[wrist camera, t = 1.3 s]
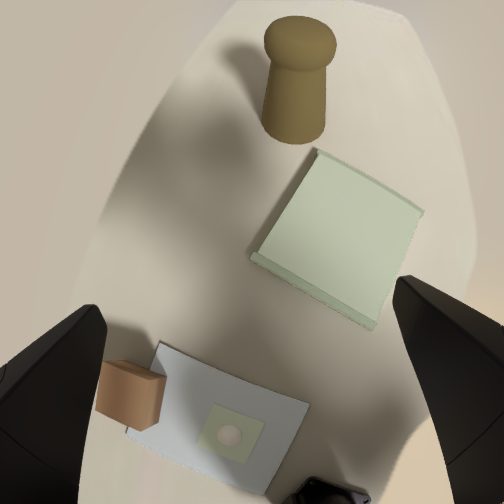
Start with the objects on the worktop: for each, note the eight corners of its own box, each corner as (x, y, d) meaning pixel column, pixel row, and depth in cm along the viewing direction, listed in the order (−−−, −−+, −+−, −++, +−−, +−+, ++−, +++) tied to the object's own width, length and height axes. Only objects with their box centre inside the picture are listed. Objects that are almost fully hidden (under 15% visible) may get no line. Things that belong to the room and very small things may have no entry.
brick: (167, 376, 20) (149, 380, 17) (158, 422, 19) (140, 431, 16) (123, 360, 21) (102, 361, 18) (116, 404, 20) (95, 410, 17)
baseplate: (420, 213, 22) (425, 209, 22) (370, 330, 20) (374, 330, 19) (317, 153, 24) (319, 147, 23) (250, 260, 22) (249, 257, 21)
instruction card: (309, 403, 19) (310, 404, 19) (262, 494, 17) (262, 496, 17) (160, 342, 21) (159, 342, 20) (126, 435, 19) (124, 436, 18)
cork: (250, 110, 26) (241, 16, 16) (303, 92, 27) (312, 3, 16) (281, 153, 25) (286, 53, 14) (337, 131, 25) (363, 39, 14)
